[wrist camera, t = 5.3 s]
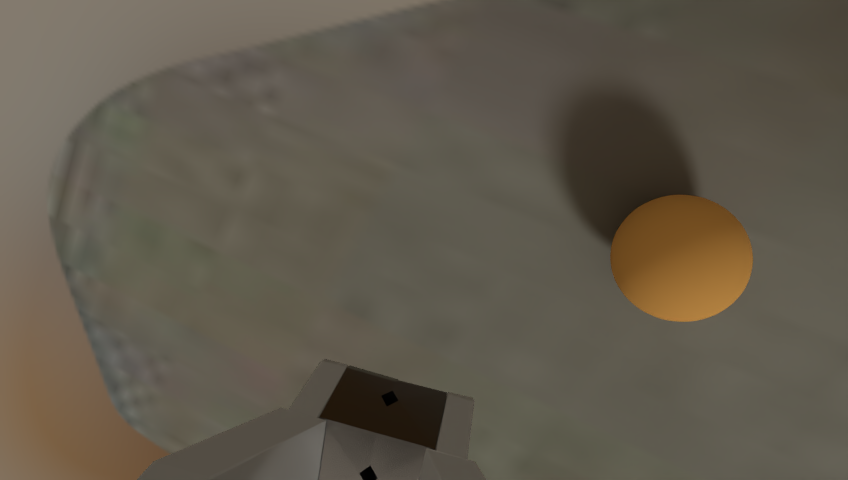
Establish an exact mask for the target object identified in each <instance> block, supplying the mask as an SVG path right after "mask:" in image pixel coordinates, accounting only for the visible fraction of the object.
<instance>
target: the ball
mask: <svg viewBox="0 0 848 480" xmlns="http://www.w3.org/2000/svg"><path fill="white" fill-rule="evenodd" d="M610 257H611V268H612V272H613V275H614V278H615V281H616V283H617V285H618V287H619V288H620V290H621V291H622V292H623V294H624V295H625V296H626V297H627V299H628V300H629V301H630V302H632V303H633V304H634V305H635V306H637V307H638V308H639V309H641V310H642V311H644V312H646V313H648V314H650V315H652V316H655V317H657V318H661V319H664V320H670V321H680V322H688V321H696V320H701V319H705V318H708V317H711V316H713V315H715V314H717V313H719V312H721V311H723V310H724V309H726V308H727V307H729V306H730V305H731V304H732V303H733V302H734V301H735V300H736V299H737V298H738V297H739V296H740V295H741V293H742V292H743V291H744V289H745V287H746V285H747V283H748V281H749V278H750V275H751V271H752V265H753V255H752V247H751V243H750V240H749V238H748V235H747V233H746V231H745V229H744V228H743V226H742V225H741V223H740V222H739V221H738V220H737V219H736V217H735V216H734V215H732V214H731V213H730V212H729V211H728V210H727V209H725V208H724V207H722V206H720V205H719V204H717V203H715V202H713V201H710V200H708V199H705V198H702V197H698V196H691V195H669V196H664V197H660V198H657V199H654V200H651V201H649V202H647V203H644V204H643V205H641V206H639V207H638V208H636V209H635V210H634V211H633V212H631V213H630V214H629V215H628V216H627V217H626V218H625V220H624V221H623V222H622V223H621V225H620V226H619V228H618V230H617V231H616V234H615V236H614V239H613V242H612V246H611V255H610Z"/></svg>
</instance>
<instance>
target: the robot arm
mask: <svg viewBox="0 0 848 480" xmlns="http://www.w3.org/2000/svg"><path fill="white" fill-rule="evenodd" d="M473 409H474V399H473V398H472V397H467V396H463V395H459V394H454V393H450V392H448V394H447V392H443V391H439V390H435V389H431V388H427V387H423V386H419V385H416V384H412V383H408V382H404V381H400V380H398V379H395V378H391V377H388V376H384V375H381V374H378V373H374V372H371V371H367V370H364V369H360V368H357V367H353V366H348V365H346V364H342V363H339V362H335V361H331V360H328V359H324V360H323V361H321V362H320V363H319V364H318V366H317V367H316V369H315V370H314V372H313V373H312V375H311V376H310V378H309V379H308V381H307V382H306V384H305V385H304V387H303V388H302V390H301V391H300V393H299V394H298V396H297V397H296V399H295V400H294V402H293V403H292V405H291V406H290V408H289V409H285V408H279V409H277V410H274V411H272V412H269V413H267V414H265V415H262V416H260V417H258V418H255V419H253V420H250V421H248V422H246V423H243V424H241V425H239V426H236V427H234V428H232V429H229V430H227V431H224V432H222V433H220V434H217V435H215V436H213V437H210V438H208V439H205V440H203V441H201V442H198V443H196V444H194V445H191V446H189V447H187V448H184V449H182V450H179V451H177V452H175V453H172V454H170V455H168V456H165V457H163V458H161V459H158V460H156V461H154V462H153V463H152V464H151V465H150V466H149V467H148V468H147V469H146V470H145V471H144V472H143V474H142V475H141V476H140V477H139V478H138V479H137V480H486V479H485V477H484V475H483V474H482V472H481V470H480V469H479V467H478V466H477V464H476V462H474V461H471V460H468V459H467V458H468V449H469V441H470V433H471V425H472V417H473Z"/></svg>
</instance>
